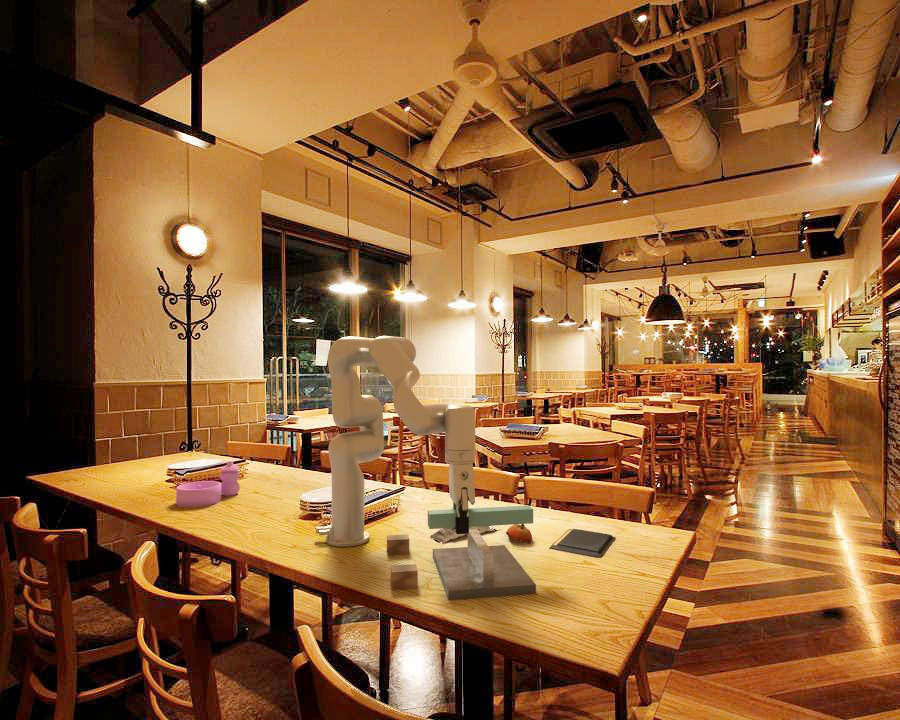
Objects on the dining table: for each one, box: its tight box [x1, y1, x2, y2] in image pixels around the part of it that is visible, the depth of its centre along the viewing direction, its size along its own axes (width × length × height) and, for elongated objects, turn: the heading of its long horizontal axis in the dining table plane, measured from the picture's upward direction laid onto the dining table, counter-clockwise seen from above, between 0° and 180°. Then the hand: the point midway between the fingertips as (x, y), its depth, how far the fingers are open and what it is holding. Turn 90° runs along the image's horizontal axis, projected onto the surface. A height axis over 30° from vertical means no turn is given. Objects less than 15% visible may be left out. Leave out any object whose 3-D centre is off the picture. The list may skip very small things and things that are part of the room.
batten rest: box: [386, 534, 419, 591], centre depth 127 cm, size 6×26×4 cm, turn 10°
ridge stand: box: [432, 529, 537, 601], centre depth 123 cm, size 20×26×8 cm
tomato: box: [505, 524, 533, 544], centre depth 148 cm, size 8×7×7 cm
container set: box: [175, 460, 241, 508], centre depth 194 cm, size 25×15×13 cm, turn 152°
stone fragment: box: [429, 526, 495, 544], centre depth 154 cm, size 25×3×10 cm
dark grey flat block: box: [548, 528, 617, 559], centre depth 146 cm, size 20×2×15 cm
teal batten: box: [427, 505, 534, 530], centre depth 124 cm, size 4×26×4 cm, turn 100°
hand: (460, 530), depth 123 cm, fingers closed on teal batten, 3 cm apart
